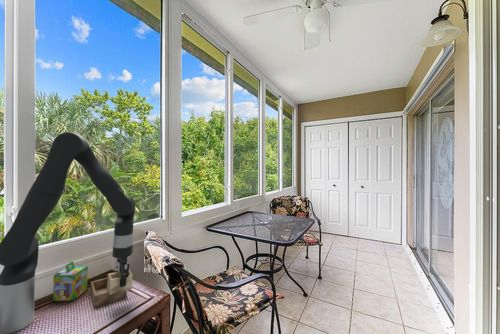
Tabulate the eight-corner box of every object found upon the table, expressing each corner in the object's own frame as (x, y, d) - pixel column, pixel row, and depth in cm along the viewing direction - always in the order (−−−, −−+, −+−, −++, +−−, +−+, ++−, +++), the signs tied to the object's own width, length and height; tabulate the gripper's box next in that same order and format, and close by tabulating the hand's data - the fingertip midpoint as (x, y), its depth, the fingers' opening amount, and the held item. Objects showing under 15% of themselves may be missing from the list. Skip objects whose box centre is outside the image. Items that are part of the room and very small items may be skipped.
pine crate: (109, 294, 88) (110, 280, 88) (107, 288, 93) (108, 274, 93) (131, 288, 93) (132, 274, 93) (128, 282, 98) (129, 269, 98)
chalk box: (74, 301, 95) (75, 267, 95) (51, 301, 94) (52, 267, 94) (88, 289, 104) (89, 258, 104) (67, 289, 104) (68, 258, 104)
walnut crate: (94, 307, 91) (94, 296, 91) (90, 292, 102) (90, 281, 102) (126, 297, 99) (126, 286, 99) (119, 283, 110) (120, 274, 110)
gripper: (109, 240, 96) (107, 278, 96) (116, 251, 85) (114, 294, 85) (128, 237, 101) (126, 273, 101) (137, 247, 90) (135, 287, 90)
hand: (121, 282), depth 93 cm, fingers closed on pine crate, 6 cm apart
